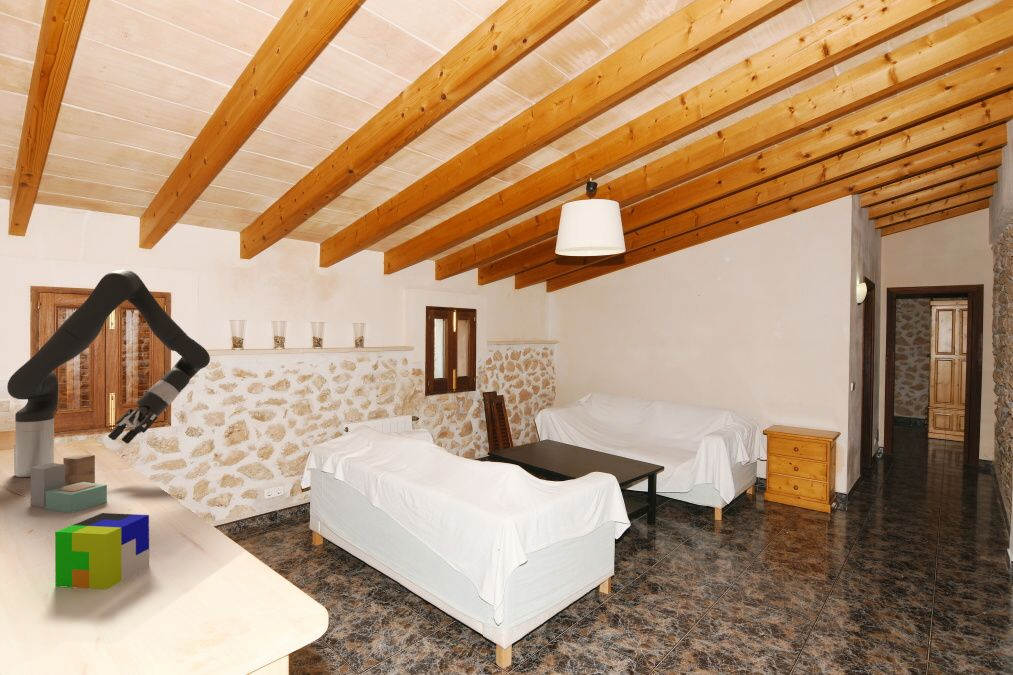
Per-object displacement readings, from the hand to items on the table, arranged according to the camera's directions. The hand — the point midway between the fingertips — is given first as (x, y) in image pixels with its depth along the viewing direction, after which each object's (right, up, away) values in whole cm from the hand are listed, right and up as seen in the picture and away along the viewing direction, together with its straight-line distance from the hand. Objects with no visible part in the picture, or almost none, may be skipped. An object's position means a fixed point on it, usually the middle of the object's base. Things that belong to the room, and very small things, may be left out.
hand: (117, 440), depth 160 cm
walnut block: (-5, -13, -8) cm, 16 cm away
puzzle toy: (+41, -15, -59) cm, 73 cm away
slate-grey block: (-5, -13, -18) cm, 23 cm away
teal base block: (+4, -14, -20) cm, 24 cm away
